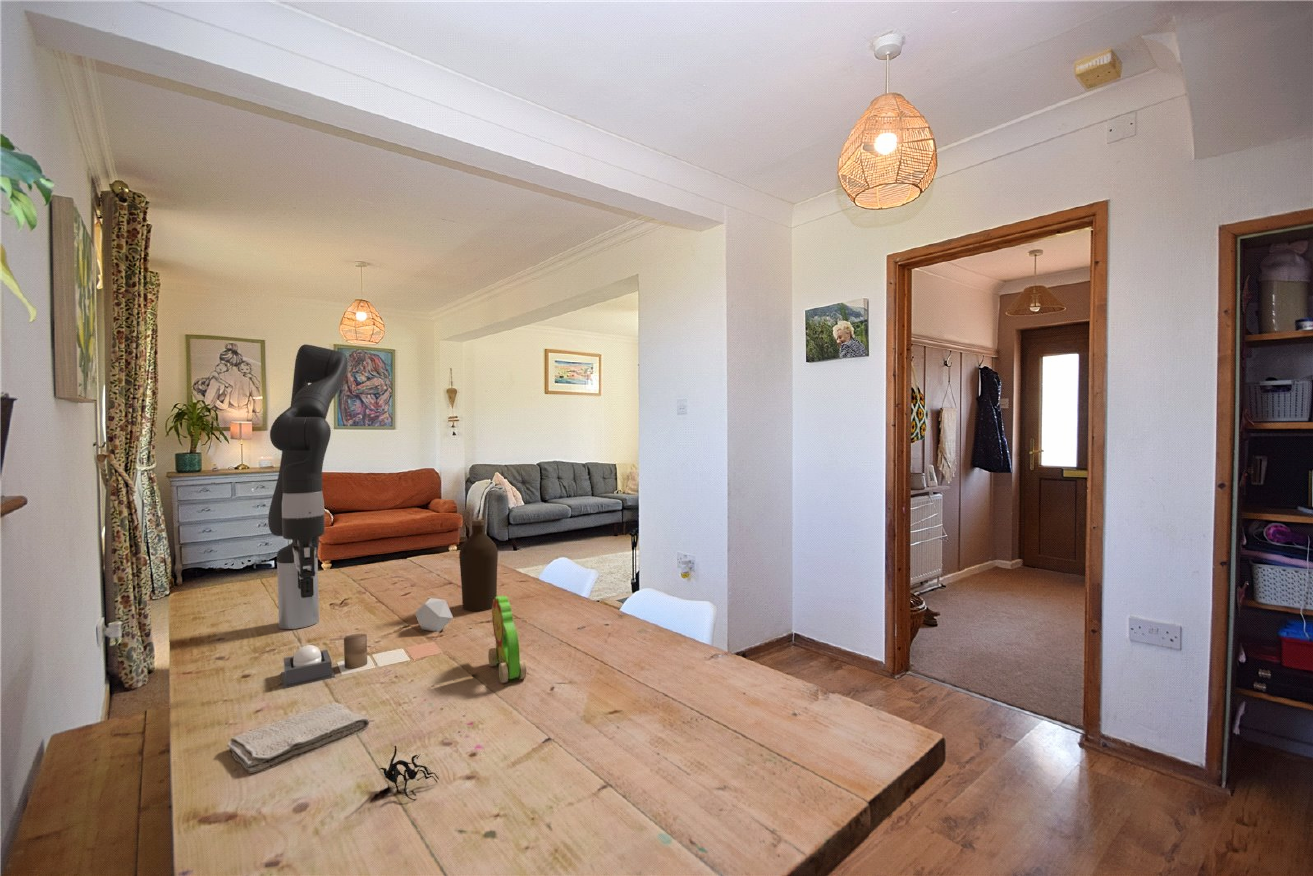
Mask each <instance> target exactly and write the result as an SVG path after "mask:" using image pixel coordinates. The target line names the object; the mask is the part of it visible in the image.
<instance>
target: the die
mask: <svg viewBox="0 0 1313 876" xmlns="http://www.w3.org/2000/svg"><path fill="white" fill-rule="evenodd" d="M414 615H415V617H416V619H417V622H418V624H419V626H420V629H421V630H425V631H430V632H436V631H437V632H438V633H439V632H441V631H442V630H443V629H444V628H445V627H446V626H447V625H448V624H449V623H450V622H451V621H452V619H454V616H453V614H452V612H451V609H450V607H449V605H448V603H447V601H446V599H441V598H433V597H430V598H428V600H426V601H425V603H423V604H422V605H421V606H420V607H419V608H418V609H417V610H416V611H414Z"/></svg>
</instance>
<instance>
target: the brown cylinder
mask: <svg viewBox="0 0 1313 876" xmlns="http://www.w3.org/2000/svg"><path fill="white" fill-rule="evenodd" d="M367 635H368V634H366V633H354V634H350V635H347V636H345V637H344V638H343V652H344V654H343V656H344V657H343V658H344V660H343V661H344V664H345V668H347V669H355V668H360V667H363V666H365V665H366V664H367V656H368V640H367V639H368V637H367Z"/></svg>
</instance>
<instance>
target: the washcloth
mask: <svg viewBox="0 0 1313 876" xmlns="http://www.w3.org/2000/svg"><path fill="white" fill-rule="evenodd" d="M369 725H370V721H369V719H368V718H367V717H365V716H362V715H361V714H357V713H355V712H353V711H351V709H349V708H348V707H346V706H345V705H343V704H341V703H339V702H331V703H328V704H327V703H326V704H325V705H322V706H318V707H317V708H314V709H311V710H308V711H307V710H306V711H304V712H301V713H296V714H293V715H292V716H289V717H286V718H282V719H281V720H277V721H274V722H273V723H270V724H266V725H263V726H261V727H258V728H255V729H253V730H249V731H246V732H244V733H239V734H237V735H235V736H233V737H231V739H230V741H229V742H228V743H227V746H226V747H227V748H229V751H231V755H232V757H233V758H234V760H235V761H236V762H238V763H239V764H240V765H241V766H242V767H243V768H244V769H245V771H247V772H248V773H250V774H255V773H257V772H261V771H266V770H268V769H269V770H270V769H271V768H275V767H277V766H280V765H282V764H283V765H284V764H285V763H288V762H290V761H292V760H295V759H298V758H300V757H302V756H305V755H308V754H310V753H312V752H316V751H317V750H320V749H322V748H326V747H328V746H330V745H332V744H335V743H337V742H340V741H342V740H344V739H347V738H349V737H352V736H354V735H357V734H360V733H361V732H363V731H365V730H366V729H367V728H368V727H369Z"/></svg>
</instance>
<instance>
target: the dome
mask: <svg viewBox="0 0 1313 876" xmlns="http://www.w3.org/2000/svg"><path fill="white" fill-rule="evenodd" d="M320 651H321V650H320V648H319V647H317V646H316V645H313V644H308V645H304V646H301V647H300V648H298V649H297V650H296V652H295V653H294V655H293V656H294V658H293V668H294V667H299V666H304V665H309V664H313V663H318V662H321V652H320Z"/></svg>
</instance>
